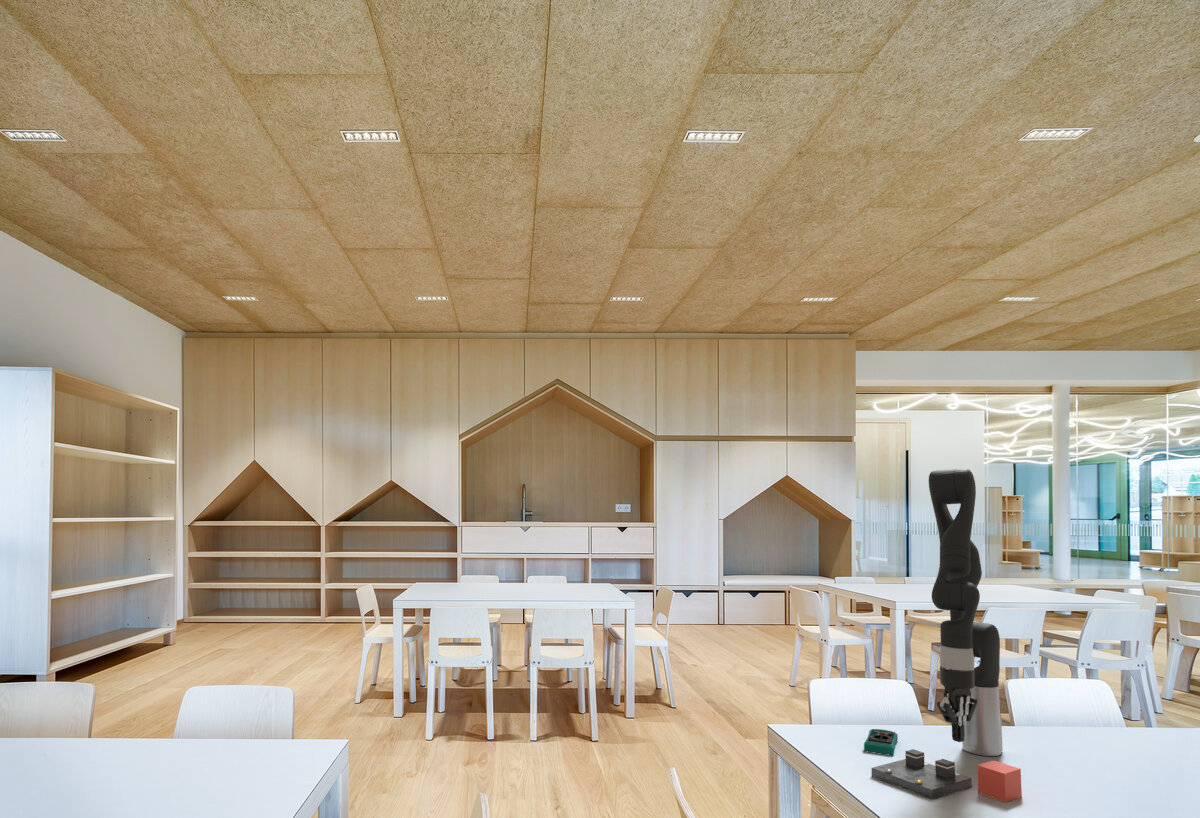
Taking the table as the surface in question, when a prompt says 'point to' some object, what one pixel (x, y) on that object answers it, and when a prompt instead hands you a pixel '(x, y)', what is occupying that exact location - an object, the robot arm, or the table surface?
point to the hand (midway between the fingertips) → (958, 740)
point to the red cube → (999, 781)
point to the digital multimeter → (881, 741)
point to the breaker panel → (920, 779)
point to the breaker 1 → (915, 758)
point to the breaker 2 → (945, 768)
